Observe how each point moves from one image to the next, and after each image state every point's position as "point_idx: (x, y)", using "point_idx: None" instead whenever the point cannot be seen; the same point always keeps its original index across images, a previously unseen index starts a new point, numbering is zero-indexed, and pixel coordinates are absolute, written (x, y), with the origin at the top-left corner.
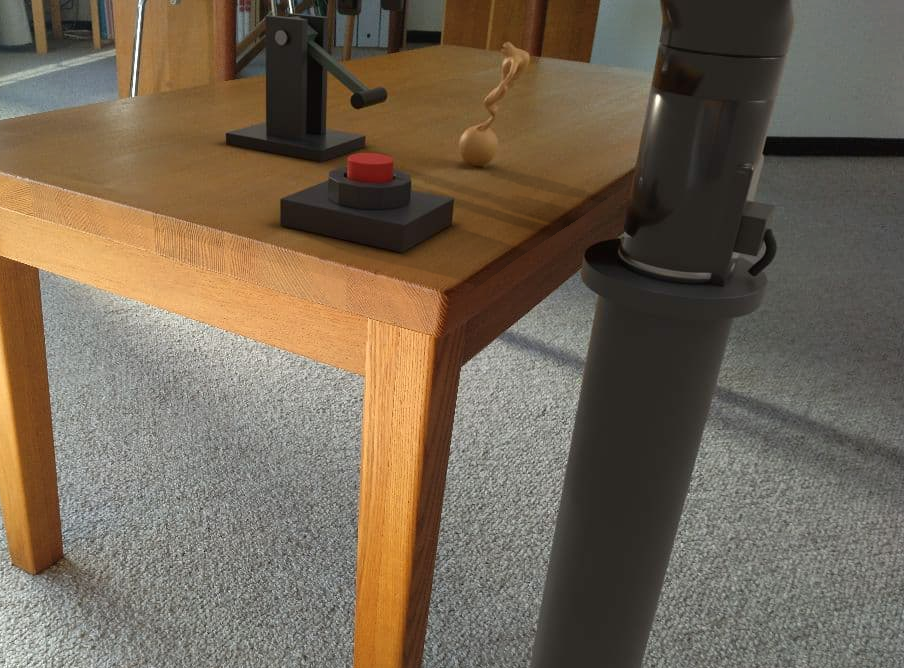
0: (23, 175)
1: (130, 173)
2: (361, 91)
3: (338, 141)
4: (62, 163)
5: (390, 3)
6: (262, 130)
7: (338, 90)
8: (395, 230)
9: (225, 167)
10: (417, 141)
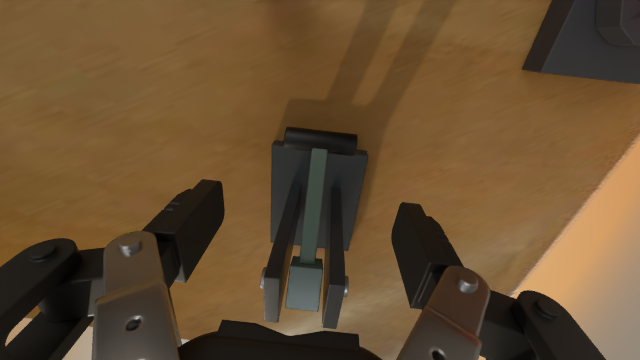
0: None
1: (476, 254)
2: (340, 149)
3: None
4: None
5: (218, 206)
6: (319, 232)
7: None
8: None
9: (427, 210)
10: (203, 99)
